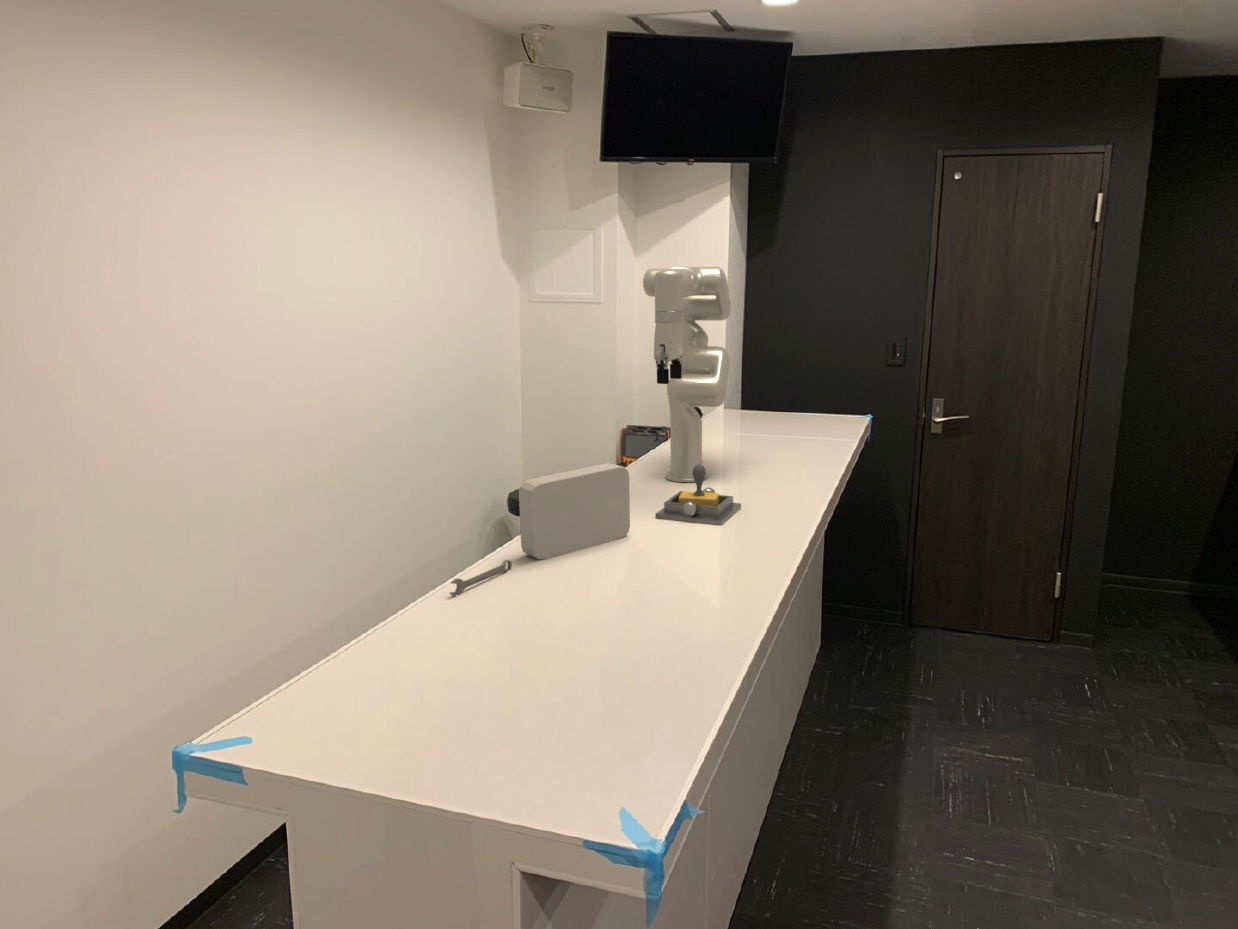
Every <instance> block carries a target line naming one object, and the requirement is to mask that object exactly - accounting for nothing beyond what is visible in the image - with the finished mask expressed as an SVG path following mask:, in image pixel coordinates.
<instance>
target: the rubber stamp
mask: <svg viewBox="0 0 1238 929" xmlns="http://www.w3.org/2000/svg"><path fill="white" fill-rule="evenodd" d="M706 473H707V472H706V468H705V466H704V464H702V465H701V464H697V465H695V466H694V468H693V477H694V480H695V482H694V483H695V485H696V490H695V491H683V492H682V493H681V495H680V496H679V503H684V504H686V503H687V502H689V501H693V502H695V503H696V504H697V505H704V506H714V507H717V506H718V505H719V495H720V493H719V492H715V493H706V492H703V489H702V485H703V483H704V481H705V480H704V478H705V474H706Z"/></svg>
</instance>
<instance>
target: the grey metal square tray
mask: <svg viewBox="0 0 1238 929" xmlns="http://www.w3.org/2000/svg"><path fill="white" fill-rule="evenodd" d="M702 491H703V492H706V493H716V491H715V490H714V488H712V487H706V488H704V489H702ZM682 492H684V490H683V491H681V490H680V491H679V492H677V493H676V494H674V495H673V496H671V497H670V498H669V499H667V500H665V502H664V503H663V505H664V506H663V508H661V509H660V510H659V511H657V512H656V513H655V519H661V520H669V521H676V522H677V521H678V522H685V523H686V522H687V523H695V524H697V523H698V524H706V525H716V526H722V525H724V524H723V523H724V522H725V521H726V522H727V521H728V520H730V518H731V517H733V516H734V515H735V514H736V513H737V512H738V511H739V510H740V509H742V503H741V502H740V503H739V502H734V496H732V495H722V494H719V505H718V506H717V507H714V506H704V505H697V504H696V503H695V502H693V501H689V502H687V503H686V504H684V503H679V496H680V495H681V493H682ZM738 509H739V510H738ZM737 510H738V511H737ZM736 511H737V512H736ZM735 512H736V513H735ZM734 513H735V514H734ZM733 514H734V515H733ZM726 522H725V523H726Z"/></svg>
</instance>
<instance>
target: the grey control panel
mask: <svg viewBox="0 0 1238 929" xmlns="http://www.w3.org/2000/svg"><path fill="white" fill-rule="evenodd" d="M518 490H519V491H518V502H519V503H518V505H519V528H520V544H521V545H520V547H521V550H522V552H523V553H525V555H528V556H529V557H531V558H534V559H536V560H541V559H544V560H546V559H545V558H548V559H551V558H554V556H555V557H558V556H562V555H564V553H566V554H568V552H569V553H572V551H573V552H575V551H576V550H577V551H581V550H583V548H584V549H587V547H588V548H591V547H594V546H598V545H601V544H606V543H609V542H612V541H611V540H613V541H617V540H620V539H623V538H625V537H626V536H627V535H628V534H629V532H630V528H631V516H630V514H631V511H630V508H631V506H630V505H631V504H630V474H629V470H628V469H627V468H626V467H625V466H621V465H618V464H614V463H610V462H606V463H603V464H602V463H600V464H596V465H591V466H587V467H582V468H578V469H573V470H568V471H564V472H558V473H553V474H549V475H543V476H540V477H535V478H530V479H527V480H525V481H522V483H521V485H520V486H519V489H518ZM590 546H591V547H590ZM561 554H562V555H561ZM557 555H558V556H557Z"/></svg>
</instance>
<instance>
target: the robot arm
mask: <svg viewBox="0 0 1238 929" xmlns="http://www.w3.org/2000/svg"><path fill="white" fill-rule="evenodd" d="M642 285H643V286H642V287H643V291H644V293H645V294H646V295H647V296H648V297H653V298H654V324H655V326H654V327H655V329H654V339H653V341H654V342H653V359H654V360H655V363H656V365H655V366H656V367H655V368H656V384H658V385H659V384H660V385H666V393H667V394H666V395H667V399H668V404H669V421H670V422H669V423H670V424H669V425H670V426H669V427H670V430H669V431H670V433H669V434H670V435H669V436H670V438H669V439H670V444H669V445H670V471H667V472H666V473H665V478H666V480H668V481H672V482H677V483H696V482H695V480H694V477H693V468H694V466H695V465H697V464H701V465H704V461H703V421H702V417H701V416H700V414H699V412H698V411H697V409H695V408H696V407H705V408H706V407H708V408H712V407H713V408H714V407H715V408H716V407H720V406H722V405H723V404H724V402H725V399H726V396H727V388H728V380H729V373H730V355H729V352H728V350H727V349H726V348H725V347H722V346H716V345H715V346H713V345H712V346H711V345H709V346H708V343H709V336H708V334H707V333H706V331H705V330H704V328H703V327H701V325H699V323H697V322H696V321H703V322H705V321H712V322H713V321H714V322H715V321H718V322H719V321H724V320H727V319H728V318H729V316H730V314H731V311H732V310H731V309H732V306H731V305H732V304H731V298H730V296H731V295H730V290H729V285H728V280H727V276H726V274H725V271H724V270H723V269H722V268H721V267H719V266H675V267H669V268H667V267H666V268H649V269H647V270H646V272H645V273H644V275H643V279H642ZM669 362H670V363H669ZM668 366H669V368H668ZM669 377H670V378H669ZM707 478H708V473H707V472H706V474H705V478H704V481H705V480H706V479H707Z"/></svg>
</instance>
